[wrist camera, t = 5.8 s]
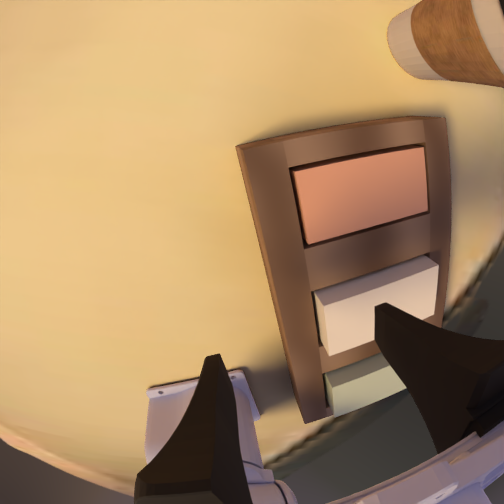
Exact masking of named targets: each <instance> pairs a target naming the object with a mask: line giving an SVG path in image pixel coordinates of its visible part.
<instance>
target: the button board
mask: <svg viewBox="0 0 504 504" xmlns="http://www.w3.org/2000/svg"><path fill="white" fill-rule="evenodd" d="M402 145H414V146H420V147H424V156H425V168H426V182H427V203H428V211H425V212H421V213H418V214H414V215H411V216H407V217H404V218H400V219H397V220H393V221H390V222H386V223H383V224H379V225H376V226H372V227H369V228H365V229H361V230H358V231H354V232H351V233H347V234H344V235H340V236H337V237H333V238H330V239H326V240H322V241H319V242H315V243H312V244H308V243H307V242H306V241H305V240H304V239H303V238H302V236H301V230H300V225H299V219H298V214H297V209H296V203H295V198H294V193H293V188H292V183H291V178H290V173H289V167H293V166H298V165H302V164H307V163H311V162H316V161H321V160H325V159H330V158H335V157H340V156H345V155H351V154H356V153H361V152H367V151H372V150H378V149H384V148H390V147H396V146H402ZM235 147H236V151H237V155H238V159H239V163H240V167H241V171H242V175H243V179H244V183H245V187H246V192H247V196H248V200H249V204H250V208H251V212H252V216H253V220H254V225H255V229H256V233H257V237H258V241H259V245H260V249H261V254H262V258H263V262H264V266H265V270H266V275H267V279H268V283H269V287H270V291H271V296H272V300H273V304H274V308H275V313H276V317H277V321H278V325H279V330H280V334H281V338H282V343H283V347H284V351H285V356H286V360H287V364H288V369H289V373H290V377H291V382H292V386H293V390H294V395H295V398H296V400H297V403H298V406H299V409H300V412H301V415H302V418H303V421H304V423H305V424H307V423H310V422H313V421H316V420H319V419H322V418H325V417H328V416H331V415H333V413H332V411H331V408H330V406H329V404H328V402H327V399H326V397H325V392H324V384H323V375H322V374H323V373H326V372H329V371H332V370H335V369H338V368H341V367H343V366H346V365H349V364H352V363H354V362H357V361H360V360H362V359H365V358H367V357H370V356H373V355H375V354H378V353H380V352H381V351H380V349H379V347H378V345H377V343H376V341H375V340H373V341H370V342H368V343H365V344H362V345H360V346H357V347H354V348H351V349H349V350H346V351H343V352H340V353H337V354H335V355H332V356H329V355H328V353H327V351H326V349H325V347H324V345H323V343H322V342H321V340H320V338H319V336H318V334H317V329H316V322H315V316H314V309H313V302H312V296H311V291H314V290H317V289H321V288H324V287H327V286H330V285H334V284H337V283H340V282H343V281H346V280H349V279H352V278H355V277H359V276H362V275H365V274H368V273H371V272H374V271H377V270H380V269H383V268H386V267H388V266H391V265H394V264H397V263H400V262H403V261H406V260H409V259H411V258H414V257H417V256H420V255H423V254H424V255H425V256H427V257H428V258H430V259H431V260H432V261H434V262H435V263H437V264H438V265H439V269H438V282H437V292H436V302H435V310H434V315H432V316H430V317H427V318H425V319H423V321H425V322H428V323H430V324H432V325H435V326H437V327H440V328H441V326H442V319H443V313H444V306H445V298H446V290H447V281H448V271H449V258H450V241H451V175H450V158H449V146H448V135H447V126H446V118H441V117H424V116H407V117H397V118H388V119H379V120H371V121H364V122H357V123H350V124H343V125H337V126H331V127H325V128H319V129H313V130H308V131H303V132H297V133H292V134H287V135H282V136H278V137H273V138H268V139H264V140H259V141H255V142H251V143H247V144H242V145H238V146H235Z"/></svg>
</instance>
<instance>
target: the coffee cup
mask: <svg viewBox="0 0 504 504" xmlns="http://www.w3.org/2000/svg"><path fill="white" fill-rule="evenodd" d="M387 39H388V44H389V48H390V50H391V53H392V55H393V57H394V58H395V60H396V61H397V63H398V64H399V65H400V66H401V67H402V68H403V69H404V70H405V71H406V72H407V73H409V74H410V75H412V76H414V77H416V78H419V79H426V80H450V81H458V82H467V83H476V84H483V85H490V86H497V87H503V88H504V0H422V1H420V2H419V3H418V4H416V5H414V6H412V7H411V8H409V9H407V10H405V11H403V12H402V13H400V14H398V15H397V16H396V17H394V18H393V19H392V20H391V22H390V24H389V26H388V31H387Z"/></svg>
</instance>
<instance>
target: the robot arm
mask: <svg viewBox="0 0 504 504" xmlns="http://www.w3.org/2000/svg"><path fill="white" fill-rule="evenodd" d="M374 312H375V327H374V340H375V341H376V343H377V345H378V347H379V349H380V351H381V353H382V354H383V356H384V358H385V359H386V360H387V362H388V363H389V364H390V366H391V367H392V369H393V370H394V371H395V373H396V374H397V375H398V377H399V378H400V379H401V381H402V382H403V384H404V385H405V386H406V388H407V389H408V391H409V392H410V394H411V396H412V397H413V399H414V401H415V403H416V405H417V407H418V408H419V410H420V413H421V415H422V417H423V419H424V421H425V423H426V425H427V428H428V430H429V432H430V435H431V437H432V439H433V442H434V445H435V447H436V450H437V453H438V455H436V456H435V457H433V458H431V459H429V460H428V461H426V462H424V463H422V464H420V465H418V466H416V467H414V468H412V469H410V470H408V471H406V472H404V473H402V474H400V475H398V476H396V477H394V478H392V479H389V480H387V481H385V482H382V483H380V484H378V485H375V486H373V487H371V488H368V489H366V490H363V491H361V492H358V493H355V494H353V495H350V496H347V497H344V498H341V499H338V500H336V501H332V502H329V503H326V504H491V502H490V501H489V499H488V497H487V496H486V494H485V492H484V491H483V489H484V488H486V487H487V486H488V485H490V484H491V483H492V482H493V481H495V480H496V479H497V478H498V477H499V476H501V475H502V474H503V473H504V340H489V339H481V338H475V337H471V336H466V335H462V334H458V333H455V332H452V331H448V330H445V329H443V328H440V327H437V326H435V325H432V324H430V323H428V322H425V321H423V320H421V319H419V318H417V317H415V316H413V315H411V314H409V313H407V312H405V311H403V310H401V309H399V308H397V307H395V306H393V305H391V304H389V303H387V302H385V303H382V304H379V305H377V306H374ZM232 376H233V377H232ZM146 394H147V396H148V397H149V407H148V416H147V425H146V435H145V456H146V461H147V465H146V466H145V467H144V468H143V469H142V470H141V471H140V472H139V473H138V474H137V478H136V482H135V491H134V504H297V500H296V497H295V495H294V493H293V492H292V490H290V488H289V487H288V486H287V485H286V484H285V483H284V482H283V481H280V480H274V477H273V473H272V470H266V469H263V464H262V460H261V455H260V450H259V446H258V441H257V436H256V431H255V426H254V421H257V420H259V419H260V414H259V411H258V409H257V406H256V403H255V401H254V398H253V396H252V393H251V390H250V388H249V385H248V383H247V380H246V377H245V374H244V372H243V371H242V370H234V371H230V372H227V370H226V367H225V365H224V363H223V360H222V358H221V355H220V354H215V355H211V356H207V357H206V358H205V360H204V364H203V368H202V371H201V374H200V377H199V379H195V380H191V381H186V382H181V383H176V384H171V385H165V386H160V387H154V388H149V389H147V391H146Z"/></svg>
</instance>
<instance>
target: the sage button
mask: <svg viewBox="0 0 504 504" xmlns="http://www.w3.org/2000/svg"><path fill="white" fill-rule="evenodd" d="M322 375H323V384H324V392H325V397H326V399H327V402H328V404H329V406H330V408H331V411H332V413H333V415H334V418H335V417H337V416H340V415H343V414H346V413H348V412H351V411H354V410H356V409H359V408H361V407H364V406H366V405H369V404H371V403H374V402H376V401H379V400H381V399H383V398H386V397H388V396H390V395H392V394H395V393H397V392H399V391H401V390H403V389H405V388H406V386H405V385H404V384H403V382H402V381H401V379H400V378H399V377H398V375H397V374H396V373H395V371H394V370H393V369H392V367H391V366H390V364H389V363H388V362H387V360H386V359H385V358H384V356H383V354H382V353H381V352H380V353H378V354H375V355H373V356H370V357H367V358H365V359H362V360H360V361H357V362H354V363H352V364H349V365H346V366H343V367H341V368H338V369H335V370H332V371H329V372H326V373H323V374H322Z"/></svg>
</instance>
